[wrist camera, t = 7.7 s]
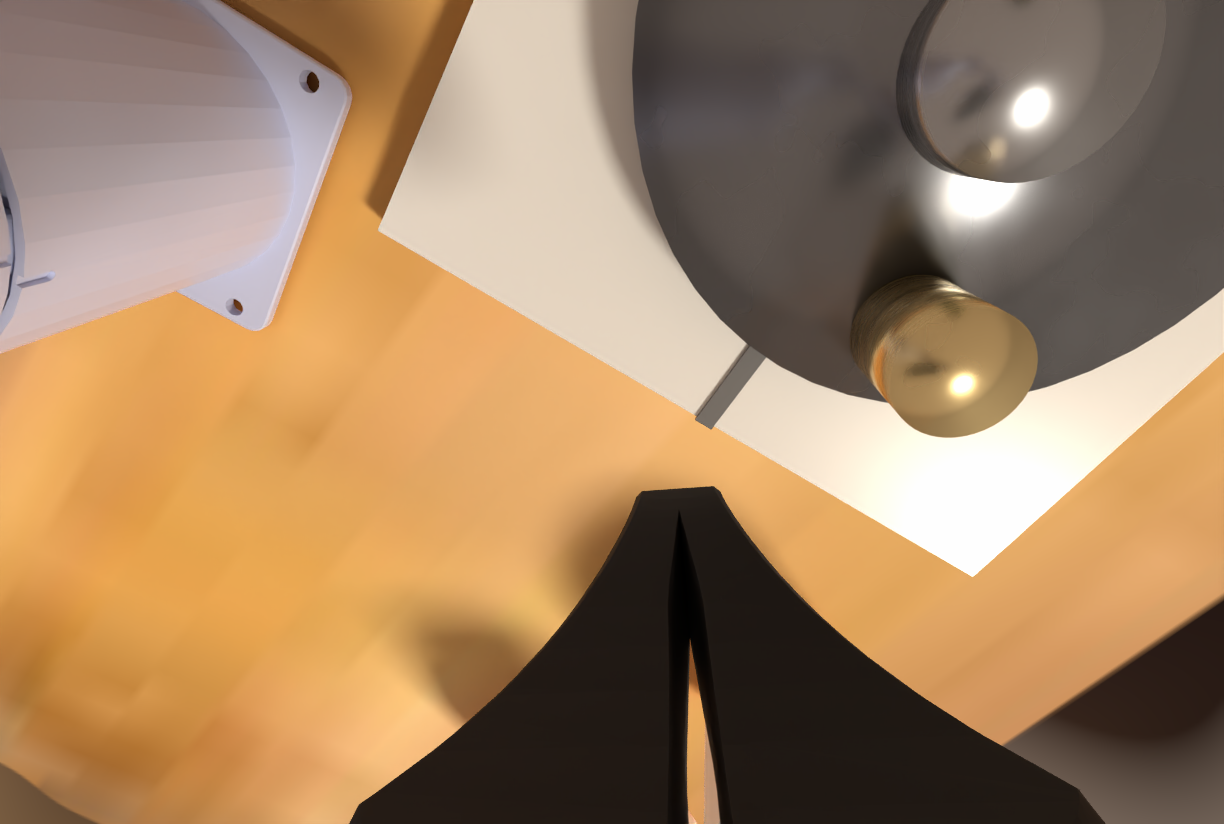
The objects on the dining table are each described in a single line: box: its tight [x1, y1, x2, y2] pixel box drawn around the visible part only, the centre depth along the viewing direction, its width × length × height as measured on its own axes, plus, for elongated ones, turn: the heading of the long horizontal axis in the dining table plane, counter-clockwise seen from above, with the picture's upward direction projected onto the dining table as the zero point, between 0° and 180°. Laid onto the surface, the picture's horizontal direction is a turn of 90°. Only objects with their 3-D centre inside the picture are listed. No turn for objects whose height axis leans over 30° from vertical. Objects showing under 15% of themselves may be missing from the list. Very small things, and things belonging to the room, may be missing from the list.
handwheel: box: [632, 0, 1224, 438], centre depth 13 cm, size 16×16×4 cm
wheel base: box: [378, 0, 1224, 577], centre depth 15 cm, size 22×22×1 cm
